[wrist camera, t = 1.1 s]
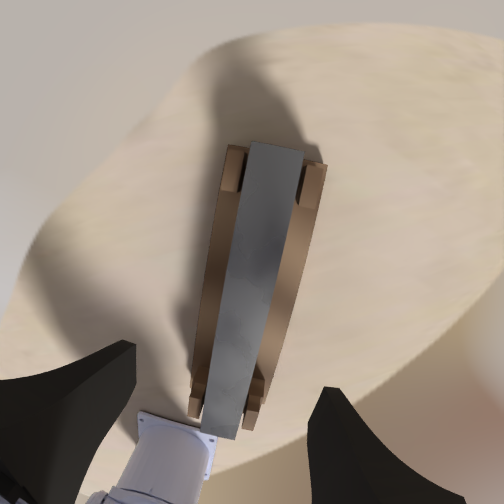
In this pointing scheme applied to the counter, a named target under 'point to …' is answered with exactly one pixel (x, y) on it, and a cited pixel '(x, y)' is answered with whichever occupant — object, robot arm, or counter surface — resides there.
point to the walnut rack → (284, 286)
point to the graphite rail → (249, 282)
